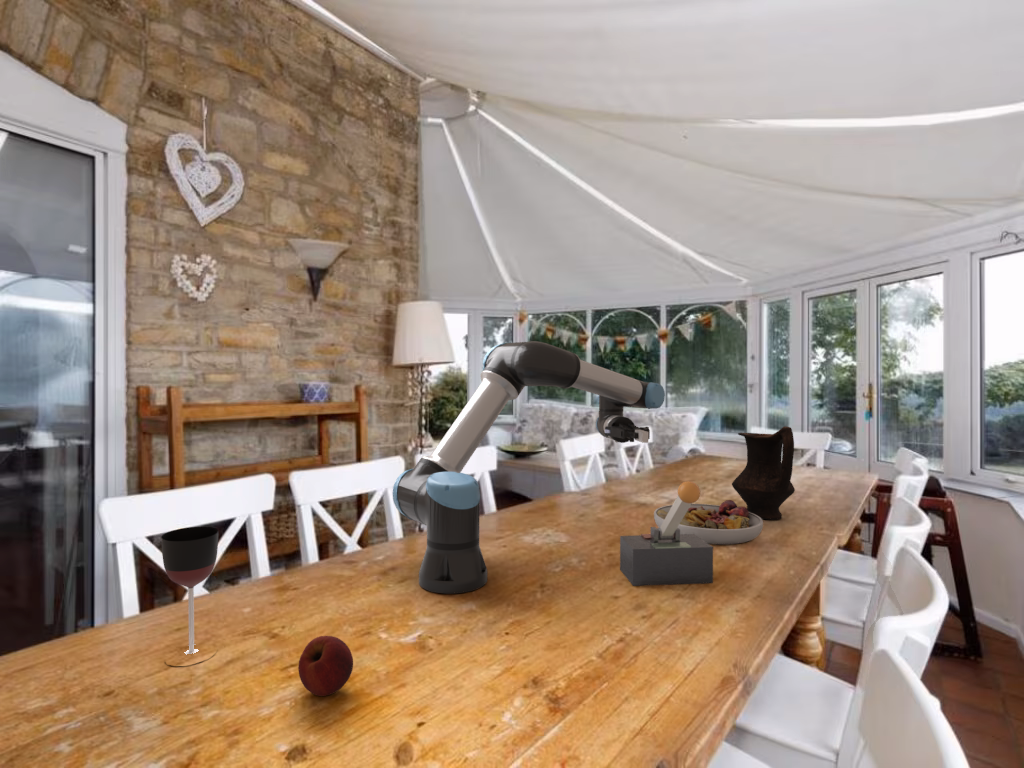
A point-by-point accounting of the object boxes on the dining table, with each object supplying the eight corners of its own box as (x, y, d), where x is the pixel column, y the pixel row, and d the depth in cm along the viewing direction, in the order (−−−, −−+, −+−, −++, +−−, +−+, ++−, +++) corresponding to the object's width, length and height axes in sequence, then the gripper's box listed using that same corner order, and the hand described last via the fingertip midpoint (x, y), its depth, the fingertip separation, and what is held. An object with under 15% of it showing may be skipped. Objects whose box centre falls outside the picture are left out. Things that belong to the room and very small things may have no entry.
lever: (652, 527, 129) (678, 477, 113) (670, 527, 129) (699, 476, 113) (656, 545, 126) (684, 496, 110) (675, 544, 126) (705, 495, 110)
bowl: (727, 555, 142) (728, 525, 142) (633, 530, 165) (633, 504, 165) (781, 534, 161) (782, 507, 161) (690, 514, 184) (690, 490, 184)
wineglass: (206, 637, 97) (204, 524, 97) (228, 654, 91) (227, 533, 91) (154, 655, 91) (153, 534, 90) (175, 674, 85) (173, 544, 85)
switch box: (620, 569, 131) (620, 523, 131) (694, 567, 132) (694, 521, 132) (632, 585, 121) (633, 535, 121) (712, 583, 123) (713, 533, 122)
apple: (286, 695, 80) (286, 640, 80) (331, 671, 86) (331, 620, 86) (319, 713, 76) (319, 654, 75) (364, 686, 82) (363, 632, 82)
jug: (719, 511, 186) (719, 422, 186) (764, 507, 192) (765, 420, 191) (765, 528, 166) (766, 428, 165) (814, 523, 171) (815, 426, 171)
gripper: (640, 441, 165) (670, 452, 141) (597, 441, 164) (620, 452, 140) (641, 416, 165) (670, 422, 141) (597, 415, 163) (620, 422, 140)
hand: (645, 437), depth 141 cm, fingers closed
